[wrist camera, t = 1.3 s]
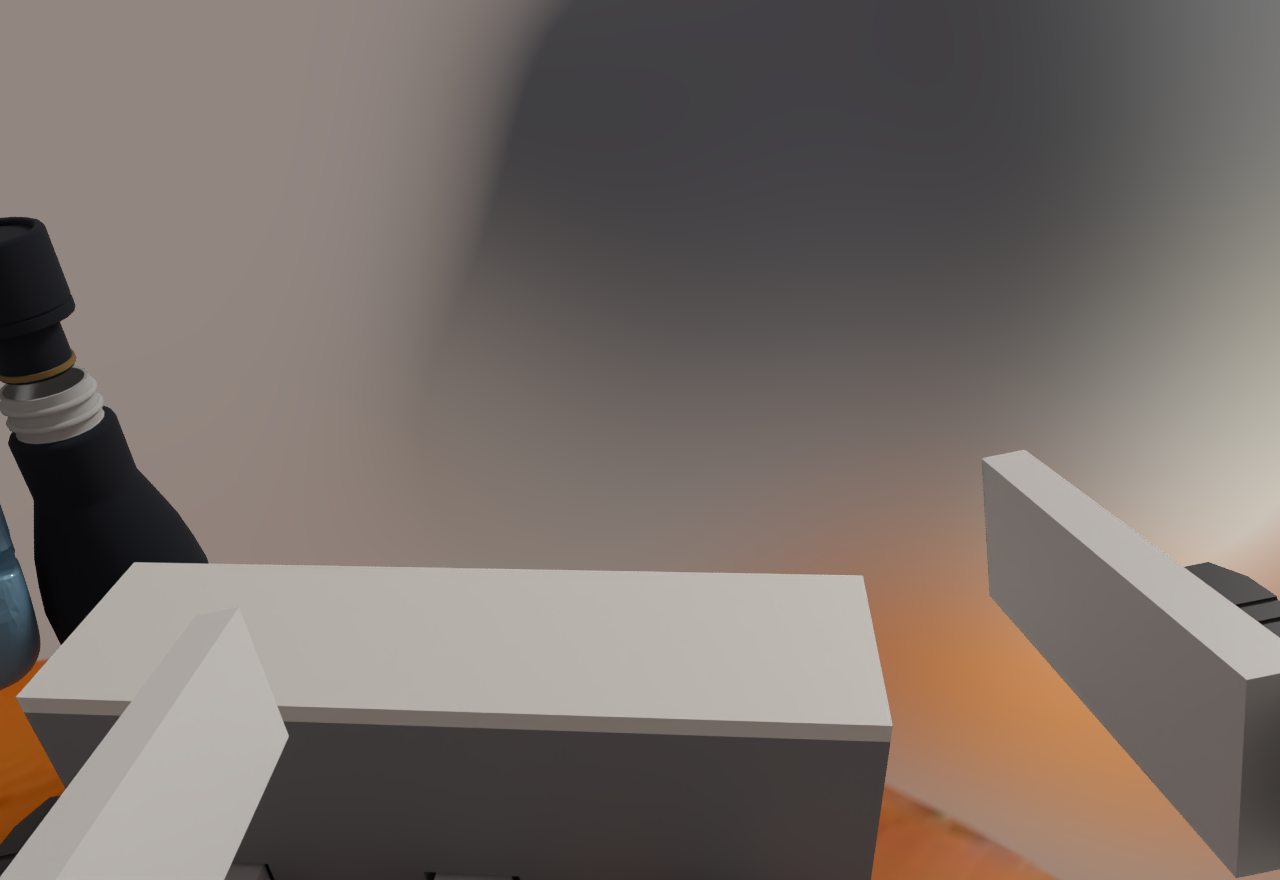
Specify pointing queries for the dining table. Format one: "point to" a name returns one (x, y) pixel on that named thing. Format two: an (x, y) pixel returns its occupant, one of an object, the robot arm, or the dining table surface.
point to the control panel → (522, 717)
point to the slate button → (247, 872)
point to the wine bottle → (71, 445)
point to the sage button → (469, 877)
